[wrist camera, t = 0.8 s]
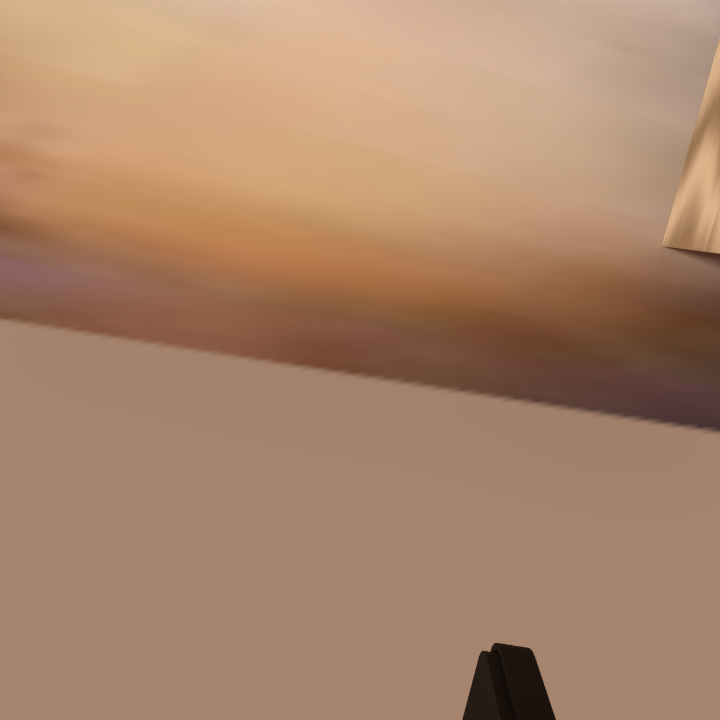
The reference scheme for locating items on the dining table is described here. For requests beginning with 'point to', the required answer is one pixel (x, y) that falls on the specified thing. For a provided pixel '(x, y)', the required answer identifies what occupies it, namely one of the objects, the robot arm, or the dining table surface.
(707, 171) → the beige square hollow tray
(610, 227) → the dining table surface
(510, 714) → the robot arm
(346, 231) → the dining table surface
